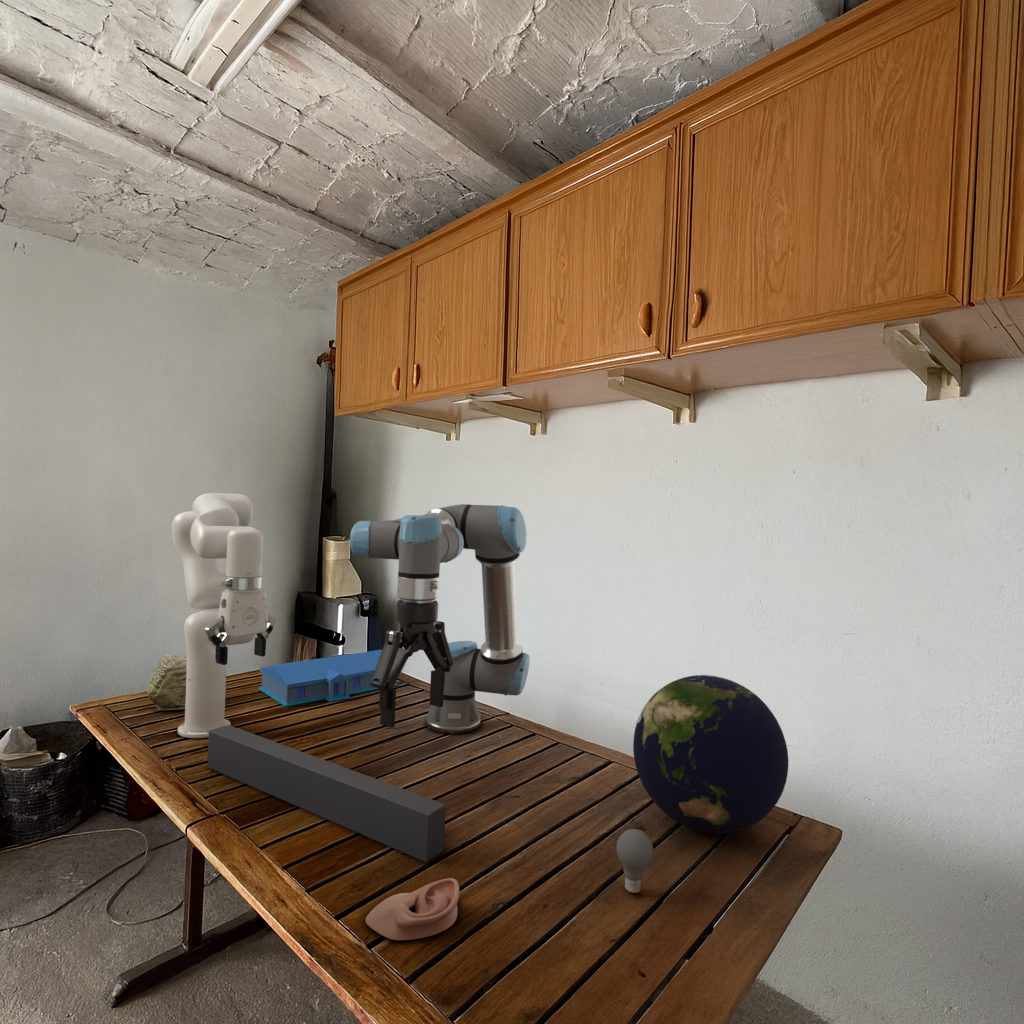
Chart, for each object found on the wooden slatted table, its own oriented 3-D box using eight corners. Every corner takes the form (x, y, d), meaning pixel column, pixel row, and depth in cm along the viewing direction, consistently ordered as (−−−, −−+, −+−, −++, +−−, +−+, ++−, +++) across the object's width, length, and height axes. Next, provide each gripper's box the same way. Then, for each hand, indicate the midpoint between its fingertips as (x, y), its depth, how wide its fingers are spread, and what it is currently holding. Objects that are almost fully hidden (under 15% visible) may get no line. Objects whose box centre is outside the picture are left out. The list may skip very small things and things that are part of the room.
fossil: (144, 707, 182) (145, 655, 182) (212, 696, 194) (213, 647, 194) (151, 716, 175) (153, 662, 175) (221, 703, 188) (223, 653, 188)
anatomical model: (357, 906, 92) (388, 863, 104) (356, 933, 92) (387, 887, 104) (444, 922, 90) (466, 876, 101) (443, 950, 90) (465, 901, 101)
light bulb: (610, 879, 108) (613, 822, 108) (644, 879, 109) (647, 822, 109) (619, 902, 102) (622, 840, 102) (655, 901, 103) (658, 840, 103)
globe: (615, 841, 121) (622, 685, 120) (644, 780, 148) (650, 652, 148) (786, 884, 109) (795, 711, 109) (782, 808, 137) (789, 671, 136)
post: (207, 767, 146) (208, 730, 145) (227, 760, 150) (228, 724, 150) (426, 862, 111) (428, 815, 111) (444, 850, 116) (446, 804, 115)
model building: (289, 709, 186) (291, 675, 185) (258, 688, 204) (259, 657, 204) (403, 687, 212) (405, 657, 212) (366, 670, 230) (368, 643, 230)
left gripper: (218, 589, 133) (215, 670, 133) (286, 582, 148) (284, 655, 148) (197, 585, 137) (194, 664, 137) (266, 579, 152) (263, 650, 152)
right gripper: (385, 610, 103) (380, 740, 104) (473, 594, 124) (469, 702, 125) (352, 605, 107) (347, 729, 108) (443, 590, 128) (439, 694, 129)
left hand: (241, 659), depth 143 cm, fingers open, 9 cm apart
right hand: (413, 715), depth 116 cm, fingers open, 13 cm apart
